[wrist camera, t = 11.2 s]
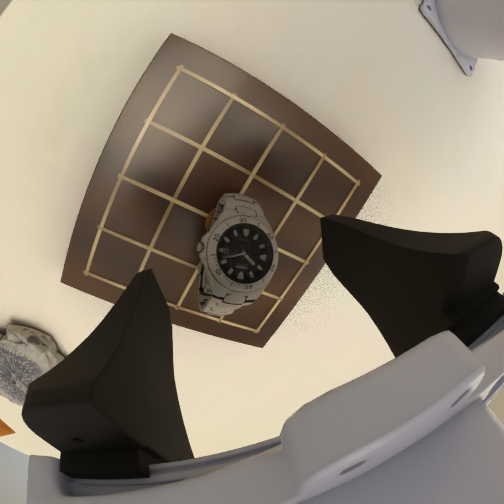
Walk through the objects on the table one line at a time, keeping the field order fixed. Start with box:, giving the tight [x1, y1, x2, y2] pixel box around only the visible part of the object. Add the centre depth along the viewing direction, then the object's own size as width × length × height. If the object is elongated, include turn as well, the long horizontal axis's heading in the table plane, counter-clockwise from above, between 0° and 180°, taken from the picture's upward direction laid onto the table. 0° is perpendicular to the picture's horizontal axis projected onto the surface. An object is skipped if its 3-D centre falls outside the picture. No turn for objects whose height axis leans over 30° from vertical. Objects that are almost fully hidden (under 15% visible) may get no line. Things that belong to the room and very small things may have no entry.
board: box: [61, 34, 382, 348], centre depth 16 cm, size 15×15×1 cm
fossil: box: [0, 324, 64, 406], centre depth 16 cm, size 11×4×10 cm
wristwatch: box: [197, 193, 278, 316], centre depth 13 cm, size 4×6×5 cm, turn 162°
